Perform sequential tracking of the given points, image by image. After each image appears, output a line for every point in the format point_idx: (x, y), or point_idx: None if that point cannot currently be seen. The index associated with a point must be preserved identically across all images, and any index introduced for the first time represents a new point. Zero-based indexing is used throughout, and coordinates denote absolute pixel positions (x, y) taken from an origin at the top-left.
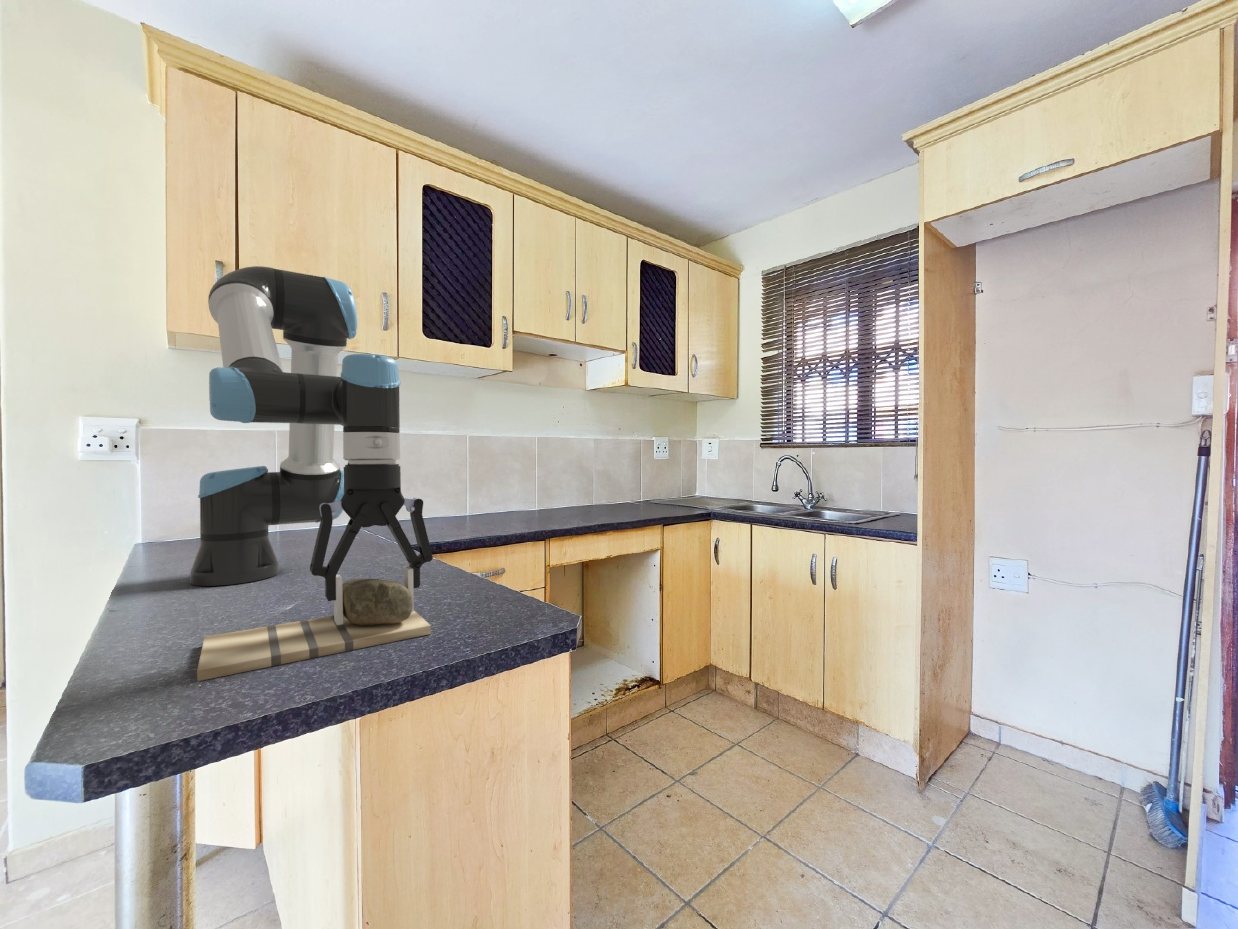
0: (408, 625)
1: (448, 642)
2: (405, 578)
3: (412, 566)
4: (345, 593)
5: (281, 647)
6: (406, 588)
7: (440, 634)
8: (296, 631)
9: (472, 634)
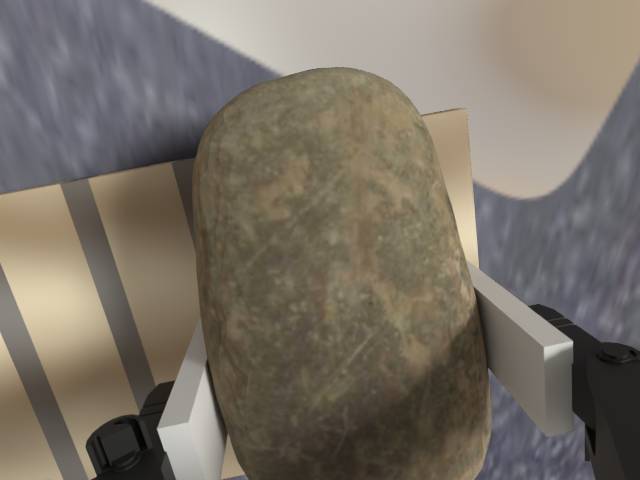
0: None
1: (503, 477)
2: (511, 353)
3: (582, 417)
4: (239, 464)
5: (82, 452)
6: (483, 462)
7: (500, 414)
8: (85, 318)
9: (572, 444)
